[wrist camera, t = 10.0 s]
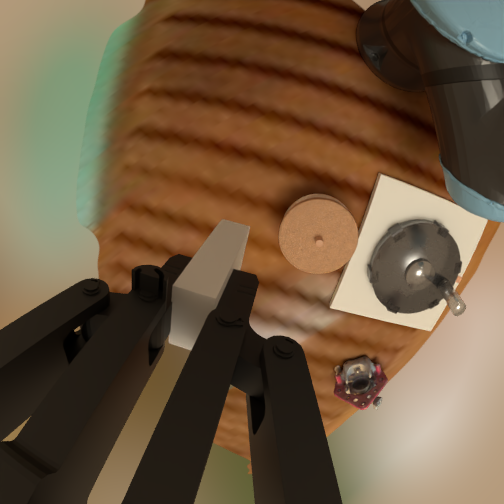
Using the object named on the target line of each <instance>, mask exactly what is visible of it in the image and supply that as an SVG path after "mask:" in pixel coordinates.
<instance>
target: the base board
mask: <svg viewBox="0 0 504 504" xmlns="http://www.w3.org/2000/svg"><path fill="white" fill-rule="evenodd" d="M416 219H423V220H429V221H432V222H434V221H435V220H436V221H437V222H439V223H441V224H442V225H444V226H445V227H446V228H447V229H448V230H449V234H450V235H451V236H452V237H453V238H454V240H455V241H456V243H457V245H458V248H459V252H460V260H461V261H462V267H461V273H459V274H458V277H457V280H456V282H455V284H454V286H453V287H454V289H456V287H457V285H458V283H460V281H461V279H462V276H463V274H464V272H465V270H466V268H467V266H468V264H469V262H470V260H471V257H472V255H473V253H474V251H475V249H476V247H477V244H478V242H479V240H480V238H481V235H482V233H483V230H484V228H485V226H486V223H487V221H488V220H487V219H485V218H482V217H479V216H477V215H474V214H472V213H470V212H468V211H466V210H465V209H463V208H462V207H460V206H459V205H458V204H455V203H453V202H451V201H449V200H447V199H444V198H442V197H440V196H437V195H435V194H433V193H430V192H428V191H426V190H423V189H421V188H418V187H416V186H413V185H411V184H408V183H406V182H403V181H400V180H398V179H395V178H392V177H390V176H387V175H384V174H381V173H378V176H377V179H376V182H375V186H374V189H373V192H372V195H371V197H370V200H369V203H368V206H367V209H366V212H365V215H364V218H363V220H362V223H361V226H360V229H359V231H358V244H357V247H356V250H355V252H354V254H353V256H352V257H351V258H350V260H349V261H348V262H347V263H346V265H345V267H344V270H343V272H342V275H341V277H340V280H339V282H338V285H337V287H336V289H335V292H334V294H333V296H332V299H331V301H330V308H333V309H337V310H341V311H345V312H349V313H354V314H358V315H362V316H366V317H370V318H374V319H379V320H383V321H387V322H392V323H396V324H400V325H405V326H409V327H414V328H418V329H423V330H427V331H431V330H432V328H433V327H434V325H435V323H436V322H437V320H438V318H439V317H440V315H441V314H442V312H443V310H444V308H445V307H446V305H447V303H446V301H445V299H444V298H443V299H442V300H441V301H440V302H439V303H440V304H438V305H437V306H435V307H434V308H432V309H430V308H429V309H427V310H424V311H421V312H418V313H411V314H404V313H398V312H397V314H395V313H392V312H390V311H388V310H387V308H386V307H385V306H384V305H383V304H382V303H381V302H380V301H379V300H378V298H377V297H376V295H375V293H374V290H373V287H372V284H371V283H370V282H369V279H368V276H367V265H369V264H370V260H371V257H372V254H373V251H374V249H375V247H376V246H377V244H378V243H379V241H380V240H381V239H382V237H383V236H384V235H385V234H386V233H387V232H388V229H389V228H391V227H392V226H394V225H395V224H397V223H398V224H401V223H404V222H407V221H410V220H416Z"/></svg>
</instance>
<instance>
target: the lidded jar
mask: <svg viewBox="0 0 504 504" xmlns="http://www.w3.org/2000/svg"><path fill="white" fill-rule="evenodd" d="M278 237H279V245H280V248H281V251H282V253H283V255H284V256H285V258H286V259H287V260H288V261H289V262H290V263H291V264H292V265H293V266H294V267H296V268H298V269H299V270H302V271H304V272H308V273H314V274H323V273H329V272H332V271H335V270H337V269H339V268H340V267H342V266H343V265H345V264H346V263H347V262H348V261H349V260H350V258H351V257H352V256H353V254H354V252H355V250H356V247H357V244H358V227H357V224H356V221H355V220H354V218H353V216H352V214H351V213H350V212H349V210H348V209H347V208H346V206H345V205H343V204H342V203H341V202H340V201H339V200H337V199H336V198H334V197H332V196H329V195H325V194H310V195H306V196H304V197H302V198H300V199H298V200H297V201H295V202H294V203H293V204H292V205H291V206H290V207H289V208H288V210H287V211H286V213H285V215H284V217H283V220H282V222H281V224H280V228H279V236H278Z"/></svg>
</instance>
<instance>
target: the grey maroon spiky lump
mask: <svg viewBox="0 0 504 504" xmlns="http://www.w3.org/2000/svg"><path fill="white" fill-rule="evenodd" d="M343 366H344V367H343V371H342V369H341V368H340V366H336V367H335V369H334V370H335V371H336V374H335V378H336V380H337V382H336V383H335V389H334V395H335V396H337V397H338V398H339V399H341V400H344V401H345V402H347V403H349V404H351V405H352V406H354V407H356V408H358V409H360V410H364V409H366V408H368V406H369V405H370V404H373V406H374V409H376V410H377V407H378V406H379V405H380V404H381V401H382V398H381V397H377V396H378V394H379V393H380V391H381V390H382V389H383V387H384V386H385V385H386V383H387V381H388V379H387V377H386V375H385V373H384V372H383V371H382V370H381V367H380V364H374V363H372V362H371V360H370V359H369V358H368V357H366V356H363V357H360V358H357V359H354V360H348V361H346V362H345V363H344V365H343ZM348 393H350V394H348ZM348 397H350V398H348ZM347 398H348V399H347ZM353 400H354V401H353Z"/></svg>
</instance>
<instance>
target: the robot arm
mask: <svg viewBox="0 0 504 504" xmlns="http://www.w3.org/2000/svg"><path fill="white" fill-rule="evenodd" d="M356 38H357V45H358V48H359V51H360V54H361V56H362V58H363V60H364V61H365V63H366V64H367V66H368V67H369V68H370V69H371V71H372V72H373V73H374V74H375V75H376V76H378V77H379V78H380V79H381V80H383V81H384V82H386V83H387V84H389V85H391V86H393V87H395V88H398V89H400V90H404V91H410V92H420V91H426V94H427V98H428V101H429V105H430V109H431V113H432V117H433V121H434V126H435V130H436V135H437V139H438V144H439V150H440V154H439V160H440V164H441V166H442V168H443V172H444V177H445V183H446V188H447V190H448V192H449V194H450V196H451V197H452V199H453V200H454V201H455V202H456V203H457V204H458V205H459V206H460V207H462V208H463V209H465V210H466V211H468V212H470V213H472V214H474V215H477V216H479V217H482V218H485V219H488V220H492V221H497V222H504V0H381V1H379V2H376V3H374V4H373V5H371V6H370V7H369V8H368V9H367V10H366V11H365V12H364V14H363V15H362V17H361V19H360V20H359V23H358V26H357V32H356ZM249 230H250V226H247V225H243V224H239V223H235V222H232V221H228V220H224V219H222V220H221V221H220V223H219V224H218V225H217V226H216V228H215V229H214V230H213V232H212V233H211V234H210V236H209V237H208V238H207V240H206V241H205V242H204V244H203V245H202V246H201V248H200V249H199V250H198V252H197V253H196V254H195V256H194V257H193V258H191V257H187V256H184V255H180V254H178V255H175V256H173V257H171V258H169V259H168V261H167V262H166V263H165V265H163V266H162V267H161V268H160V267H158V266H153V265H141V266H138V267H135V268H134V269H132V290H131V291H130V292H129V293H128V294H121V293H112V292H109V287H108V284H107V283H105V282H104V281H102V280H100V279H94V278H91V279H85V280H82V281H80V282H78V283H76V284H75V285H73V286H71V287H70V288H68V289H66V290H65V291H63V292H61V293H59V294H58V295H56V296H54V297H53V298H51V299H49V300H48V301H46V302H44V303H43V304H41V305H39V306H38V307H36V308H34V309H33V310H31V311H30V312H28V313H26V314H25V315H23V316H21V317H20V318H18V319H17V320H15V321H14V322H12V323H10V324H9V325H7V326H6V327H4V328H3V329H1V330H0V504H87V500H88V497H89V494H90V492H91V490H92V488H93V486H94V484H95V482H96V480H97V478H98V476H99V474H100V472H101V470H102V468H103V466H104V464H105V462H106V460H107V458H108V456H109V454H110V452H111V450H112V448H113V446H114V444H115V442H116V440H117V438H118V436H119V434H120V433H121V431H122V429H123V427H124V425H125V423H126V421H127V419H128V417H129V415H130V413H131V412H132V410H133V408H134V406H135V404H136V402H137V400H138V398H139V396H140V395H141V393H142V391H143V389H144V387H145V385H146V383H147V382H148V380H149V378H150V376H151V374H152V372H153V370H154V369H155V367H156V364H157V363H158V361H159V360H160V358H161V356H162V354H163V352H164V347H165V346H164V345H165V340H166V338H167V337H168V335H169V343H170V344H173V345H176V346H179V347H182V348H185V349H188V350H191V352H190V354H189V357H188V359H187V361H186V363H185V365H184V367H183V369H182V372H181V374H180V376H179V378H178V380H177V382H176V385H175V387H174V389H173V391H172V393H171V395H170V398H169V400H168V402H167V404H166V406H165V408H164V411H163V413H162V415H161V417H160V419H159V422H158V424H157V426H156V428H155V431H154V433H153V435H152V437H151V439H150V442H149V444H148V446H147V448H146V450H145V453H144V455H143V457H142V459H141V461H140V464H139V466H138V468H137V470H136V473H135V475H134V477H133V479H132V482H131V484H130V486H129V488H128V491H127V493H126V495H125V497H124V500H123V501H122V503H121V504H194V502H195V498H196V495H197V491H198V489H199V486H200V482H201V479H202V476H203V472H204V470H205V466H206V463H207V459H208V456H209V453H210V450H211V447H212V443H213V440H214V437H215V434H216V430H217V427H218V424H219V420H220V417H221V414H222V410H223V407H224V404H225V400H226V397H227V393H228V390H229V387H230V384H231V385H233V386H234V387H236V388H238V389H240V390H241V391H243V392H245V393H246V402H247V415H248V428H249V441H250V453H251V465H252V476H253V486H254V498H255V504H342V500H341V496H340V492H339V487H338V483H337V479H336V475H335V471H334V467H333V463H332V458H331V454H330V450H329V446H328V442H327V438H326V434H325V430H324V426H323V422H322V418H321V414H320V411H319V407H318V403H317V399H316V395H315V391H314V388H313V384H312V380H311V376H310V373H309V369H308V365H307V361H306V358H305V354H304V351H303V349H302V347H301V345H300V344H298V343H297V342H296V341H295V340H293V339H291V338H289V337H285V336H272V337H270V338H268V339H265V338H263V337H261V336H260V335H258V334H257V333H256V332H255V331H254V330H253V329H252V328H251V326H250V324H249V317H250V313H251V310H252V306H253V302H254V299H255V295H256V291H257V288H258V284H259V281H258V279H257V276H256V275H255V274H251V273H247V272H244V271H240V269H241V264H242V260H243V256H244V252H245V247H246V243H247V239H248V234H249ZM79 326H80V330H79V331H76V332H74V330H75V329H76V328H77V327H79ZM31 415H32V416H31ZM30 416H31V417H30ZM29 417H30V418H29ZM28 418H29V420H28V421H27V423H26V424H25V426H24V427H23V429H22V430H21V431H20V433H19V434H18V436H17V437H16V438H15V439H14V440H13V441H2V440H3V439H4V438H6V437H7V436H8V435H9V434H10V433H11V432H13V431H14V430H15V429H16V428H17V427H18V426H20V425H21V424H22V423H23V422H24V421H25V420H27V419H28ZM1 441H2V442H1Z"/></svg>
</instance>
